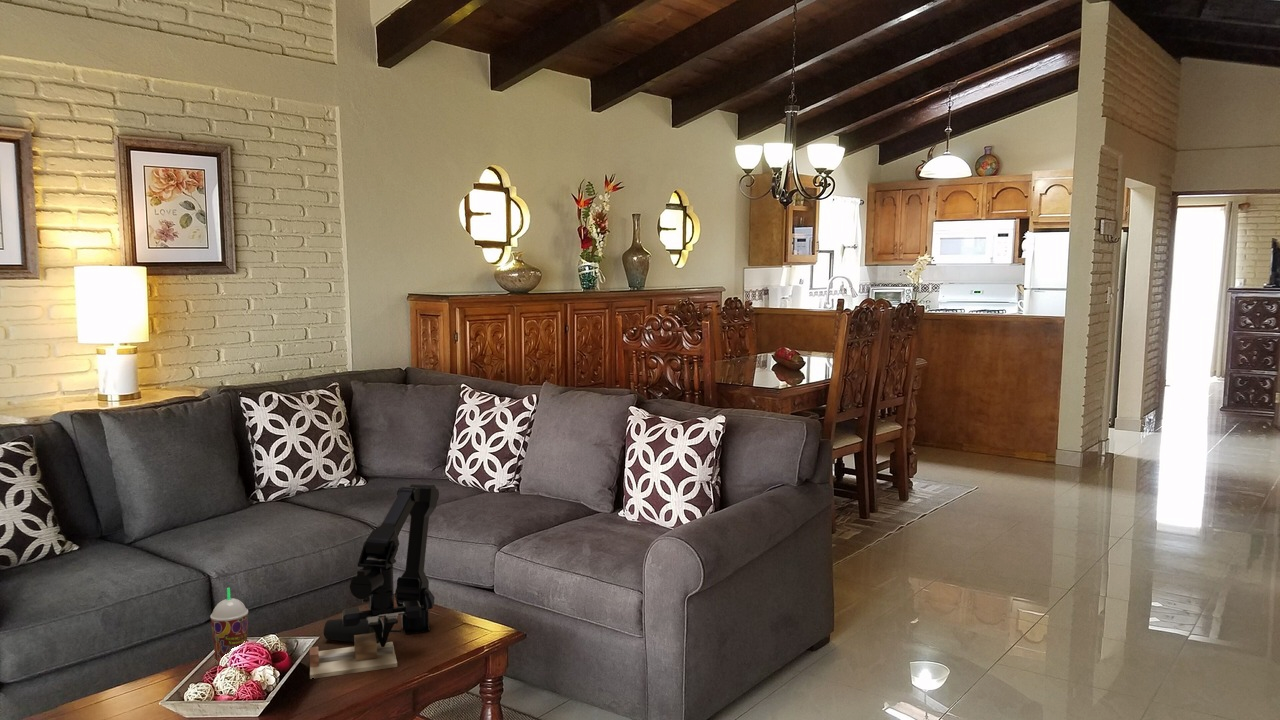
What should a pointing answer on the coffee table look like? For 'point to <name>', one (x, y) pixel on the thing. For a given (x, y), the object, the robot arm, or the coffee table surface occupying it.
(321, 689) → the coffee table surface
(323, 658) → the board
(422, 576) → the robot arm
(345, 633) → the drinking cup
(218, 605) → the smoothie
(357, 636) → the block
